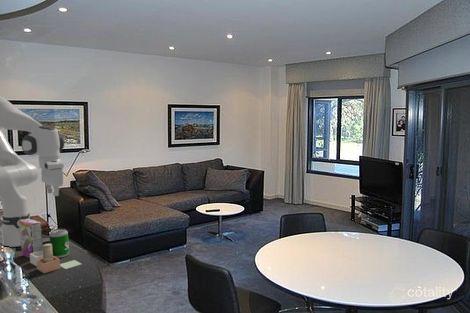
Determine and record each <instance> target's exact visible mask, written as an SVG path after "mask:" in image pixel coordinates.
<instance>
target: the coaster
mask: <svg viewBox="0 0 470 313" xmlns="http://www.w3.org/2000/svg"><path fill="white" fill-rule="evenodd" d="M80 265H82V263H81V262H79V261H77V260H75V259H73V260H69V261H66V262H62V263H60V268H63V269H65V270H67V269H70V268H71V269H72V268H74V267H77V266H80Z"/></svg>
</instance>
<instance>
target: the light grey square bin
mask: <svg viewBox="0 0 470 313" xmlns="http://www.w3.org/2000/svg"><path fill="white" fill-rule="evenodd" d="M42 258H43V250H42V251H38V252H34V253H31V254H30V258H29V262H30V264H31V265H34V266H35V267H37V260H38V259H42Z"/></svg>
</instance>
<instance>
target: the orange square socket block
mask: <svg viewBox="0 0 470 313" xmlns="http://www.w3.org/2000/svg"><path fill="white" fill-rule="evenodd" d="M60 259H61V258H56V257H55V256H53V261H50V262H47V263H44V262H43V258H42V259H38V260H37V266H36V270H38V271H39V272H41V273H43V274H47V273H51V272H54V271H57V270H60V269H61V266H60V264H61V260H60Z"/></svg>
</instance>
